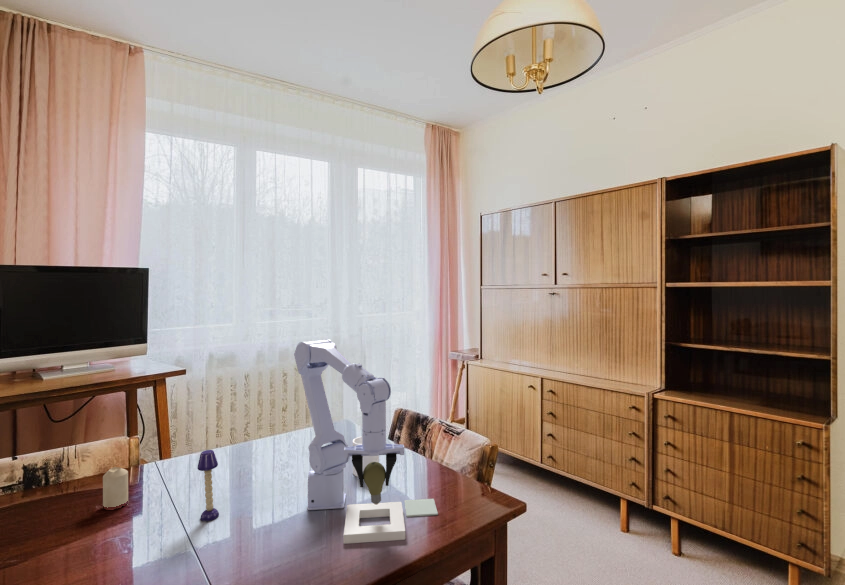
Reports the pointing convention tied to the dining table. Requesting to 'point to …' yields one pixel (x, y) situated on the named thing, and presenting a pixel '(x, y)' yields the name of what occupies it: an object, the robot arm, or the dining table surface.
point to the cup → (365, 458)
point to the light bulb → (374, 480)
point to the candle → (115, 487)
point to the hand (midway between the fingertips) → (374, 484)
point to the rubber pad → (420, 507)
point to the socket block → (374, 532)
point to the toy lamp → (208, 483)
